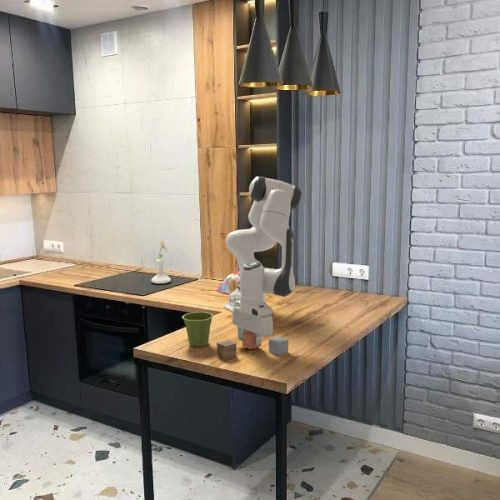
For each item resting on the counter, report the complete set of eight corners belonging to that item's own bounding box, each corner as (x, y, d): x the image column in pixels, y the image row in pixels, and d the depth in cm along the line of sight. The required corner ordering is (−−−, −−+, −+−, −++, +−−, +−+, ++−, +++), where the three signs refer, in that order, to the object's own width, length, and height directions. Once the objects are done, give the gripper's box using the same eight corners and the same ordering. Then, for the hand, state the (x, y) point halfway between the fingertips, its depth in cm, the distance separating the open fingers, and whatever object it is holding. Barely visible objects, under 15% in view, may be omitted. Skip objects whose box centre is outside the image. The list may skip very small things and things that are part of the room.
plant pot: (198, 337, 204) (198, 309, 203) (220, 343, 197) (219, 315, 195) (176, 344, 196) (175, 316, 194) (198, 351, 188) (197, 322, 186)
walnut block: (217, 355, 184) (216, 342, 183) (228, 352, 187) (227, 339, 187) (225, 359, 180) (225, 346, 180) (236, 356, 183) (236, 343, 183)
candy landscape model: (266, 291, 280) (266, 275, 279) (229, 297, 268) (228, 280, 266) (242, 283, 301) (242, 267, 300) (207, 288, 289) (206, 272, 287)
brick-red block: (242, 345, 192) (242, 332, 191) (252, 342, 195) (252, 330, 194) (250, 349, 188) (250, 336, 187) (261, 346, 191) (261, 333, 190)
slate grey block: (268, 351, 188) (268, 338, 187) (279, 348, 191) (279, 336, 190) (277, 355, 184) (278, 342, 183) (288, 352, 187) (288, 339, 186)
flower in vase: (169, 285, 296) (168, 242, 292) (149, 285, 296) (148, 242, 292) (172, 280, 309) (171, 239, 305) (153, 280, 309) (152, 239, 305)
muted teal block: (237, 337, 204) (237, 325, 203) (247, 335, 207) (247, 323, 206) (245, 340, 200) (245, 328, 199) (255, 338, 203) (255, 326, 202)
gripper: (228, 301, 195) (228, 336, 197) (262, 313, 179) (262, 351, 181) (241, 299, 199) (241, 333, 201) (276, 310, 183) (275, 347, 185)
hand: (251, 341), depth 191 cm, fingers closed on brick-red block, 5 cm apart
